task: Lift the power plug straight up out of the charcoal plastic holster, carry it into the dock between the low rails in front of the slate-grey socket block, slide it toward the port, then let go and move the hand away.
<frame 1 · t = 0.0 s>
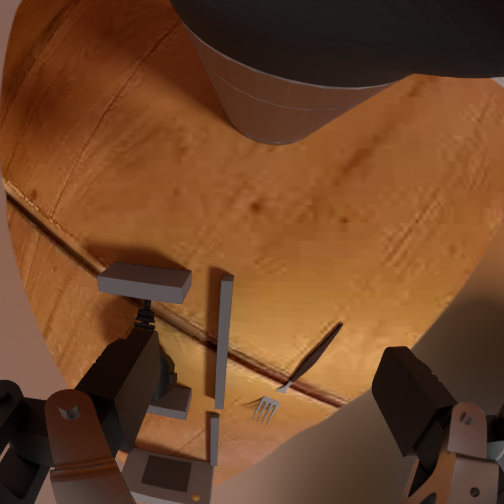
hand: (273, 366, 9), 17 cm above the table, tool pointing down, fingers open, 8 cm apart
power plug: (155, 332, 29), on the table
fork: (296, 371, 30), on the table
socket block: (172, 461, 36), on the table
plug holster: (154, 338, 28), on the table
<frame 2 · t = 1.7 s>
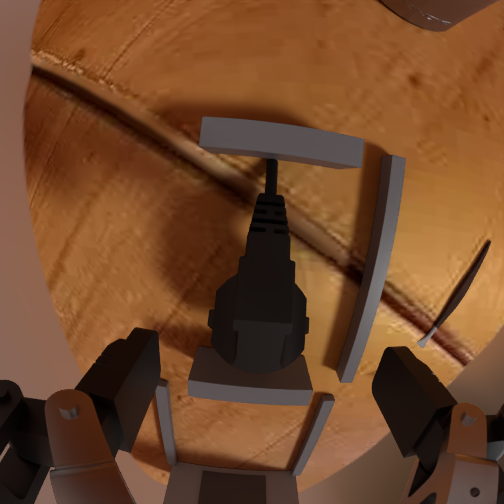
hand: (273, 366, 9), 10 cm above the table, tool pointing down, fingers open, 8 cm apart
power plug: (262, 254, 19), on the table, touching plug holster
fork: (439, 313, 20), on the table
socket block: (233, 476, 25), on the table
plug holster: (263, 265, 18), on the table
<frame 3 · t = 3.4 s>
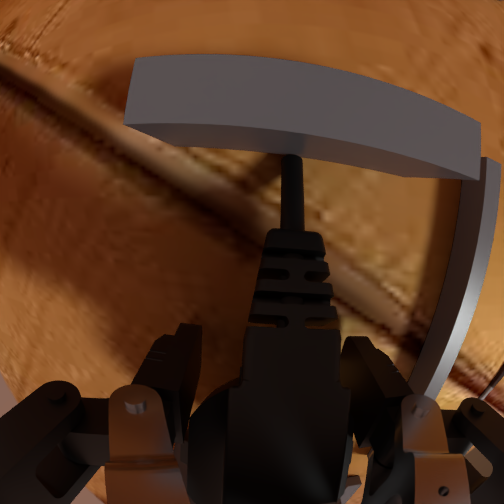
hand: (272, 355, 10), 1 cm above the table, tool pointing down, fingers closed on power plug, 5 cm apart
power plug: (272, 327, 10), on the table, touching gripper
plug holster: (272, 344, 10), on the table
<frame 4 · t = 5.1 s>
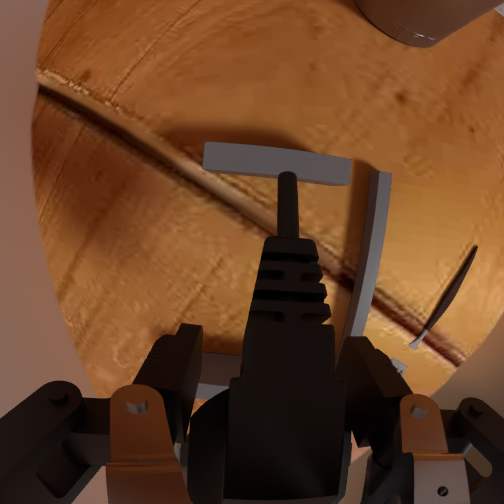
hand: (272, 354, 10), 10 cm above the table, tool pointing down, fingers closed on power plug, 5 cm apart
power plug: (270, 335, 11), point 9 cm above the table, touching gripper
fork: (429, 316, 22), on the table
plug holster: (261, 276, 20), on the table
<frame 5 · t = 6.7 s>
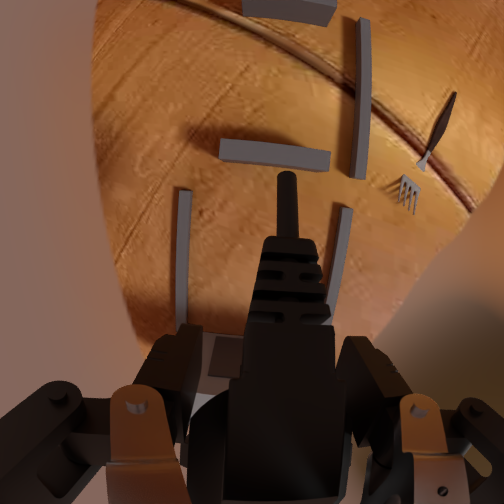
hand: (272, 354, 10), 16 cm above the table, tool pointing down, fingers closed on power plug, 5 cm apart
power plug: (270, 336, 11), point 15 cm above the table, touching gripper
fork: (429, 143, 23), on the table
socket block: (249, 352, 28), on the table
plug holster: (279, 77, 21), on the table
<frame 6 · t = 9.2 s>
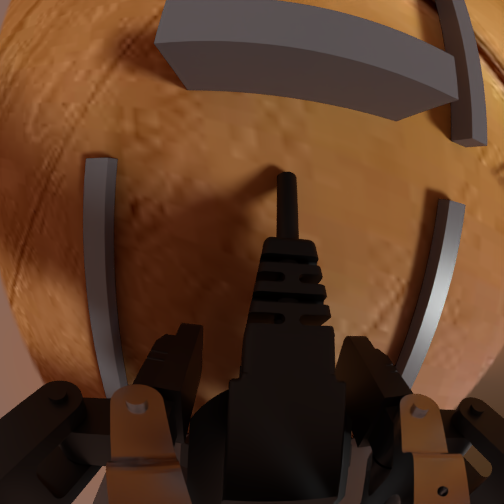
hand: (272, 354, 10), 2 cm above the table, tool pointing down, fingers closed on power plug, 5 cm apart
power plug: (270, 336, 11), on the table, touching gripper
socket block: (248, 459, 13), on the table
when the fingers open (2 cm above the table, at t = 10.1 s): power plug moves 3 cm, on the table.
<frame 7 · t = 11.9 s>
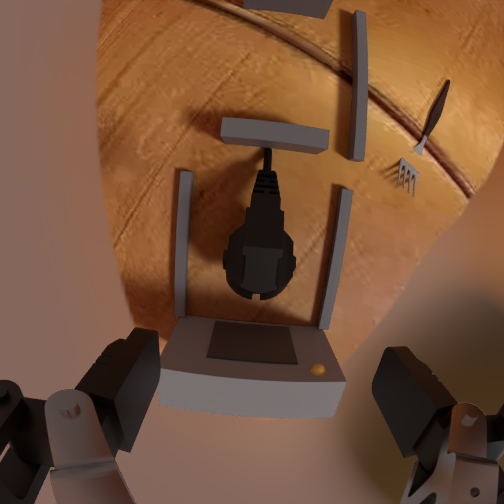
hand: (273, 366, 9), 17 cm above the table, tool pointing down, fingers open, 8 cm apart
power plug: (261, 217, 25), on the table
fork: (425, 129, 23), on the table
socket block: (250, 339, 28), on the table
plug holster: (279, 64, 21), on the table
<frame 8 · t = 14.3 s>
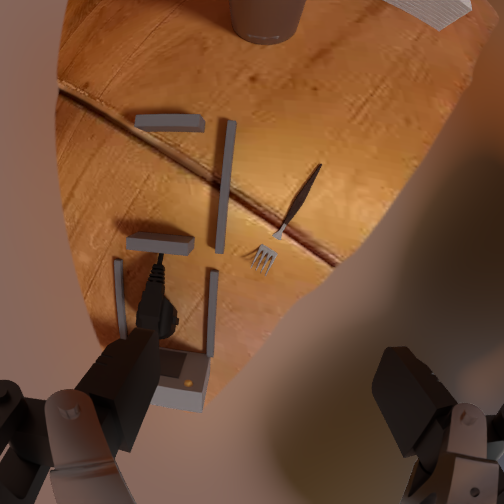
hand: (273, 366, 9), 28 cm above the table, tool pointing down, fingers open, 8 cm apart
power plug: (163, 287, 38), on the table, touching plug holster
fork: (289, 215, 36), on the table
socket block: (166, 358, 41), on the table
plug holster: (168, 182, 35), on the table
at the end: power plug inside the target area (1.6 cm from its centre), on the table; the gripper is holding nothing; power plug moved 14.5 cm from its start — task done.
